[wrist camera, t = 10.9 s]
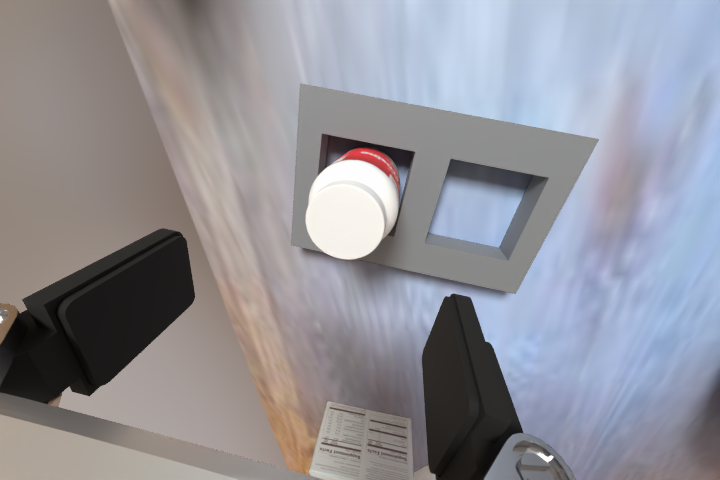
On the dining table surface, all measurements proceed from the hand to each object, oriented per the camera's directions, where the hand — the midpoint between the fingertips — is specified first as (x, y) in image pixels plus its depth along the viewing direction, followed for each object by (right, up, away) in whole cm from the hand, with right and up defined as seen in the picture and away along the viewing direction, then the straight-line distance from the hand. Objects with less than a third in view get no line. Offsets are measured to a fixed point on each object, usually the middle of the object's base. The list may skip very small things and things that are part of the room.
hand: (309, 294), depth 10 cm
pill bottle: (+2, +8, +16) cm, 18 cm away
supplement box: (+2, -31, +35) cm, 46 cm away
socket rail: (+7, +6, +15) cm, 18 cm away
